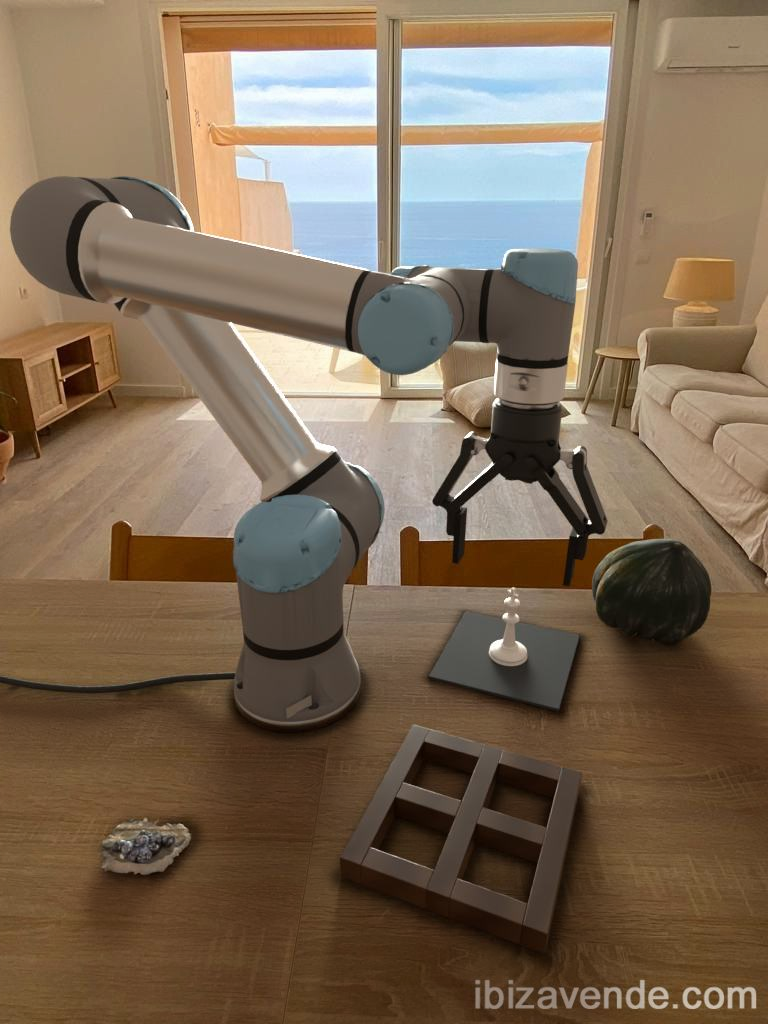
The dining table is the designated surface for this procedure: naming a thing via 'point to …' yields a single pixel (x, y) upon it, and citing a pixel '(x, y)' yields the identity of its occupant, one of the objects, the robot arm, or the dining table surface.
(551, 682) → the mat
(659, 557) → the squash
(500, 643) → the chess piece
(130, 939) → the dining table surface
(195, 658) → the dining table surface
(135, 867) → the blueberries
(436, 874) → the holder
